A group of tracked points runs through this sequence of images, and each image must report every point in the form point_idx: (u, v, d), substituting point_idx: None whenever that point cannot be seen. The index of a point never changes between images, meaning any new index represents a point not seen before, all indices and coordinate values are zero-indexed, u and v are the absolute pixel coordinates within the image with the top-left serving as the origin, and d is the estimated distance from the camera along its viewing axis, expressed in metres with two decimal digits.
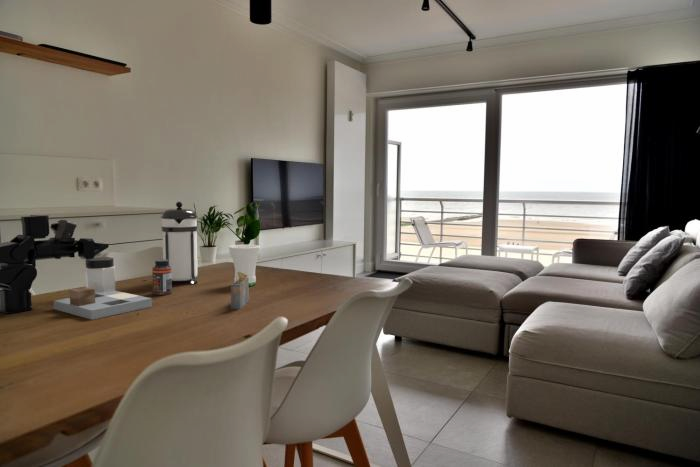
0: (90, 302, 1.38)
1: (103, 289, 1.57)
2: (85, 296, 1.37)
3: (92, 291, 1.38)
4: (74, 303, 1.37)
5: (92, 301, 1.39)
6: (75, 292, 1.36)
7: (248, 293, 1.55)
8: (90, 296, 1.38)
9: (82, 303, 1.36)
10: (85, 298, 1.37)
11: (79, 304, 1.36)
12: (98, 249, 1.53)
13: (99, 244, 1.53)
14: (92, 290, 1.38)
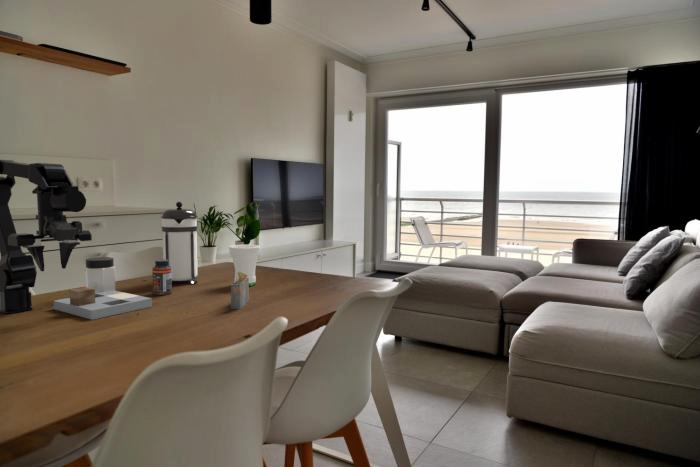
0: (90, 302, 1.38)
1: (103, 289, 1.57)
2: (85, 296, 1.37)
3: (92, 291, 1.38)
4: (74, 303, 1.37)
5: (92, 301, 1.39)
6: (75, 292, 1.36)
7: (248, 293, 1.55)
8: (90, 296, 1.38)
9: (82, 303, 1.36)
10: (85, 298, 1.37)
11: (79, 304, 1.36)
12: (34, 256, 1.28)
13: (38, 258, 1.27)
14: (92, 290, 1.38)
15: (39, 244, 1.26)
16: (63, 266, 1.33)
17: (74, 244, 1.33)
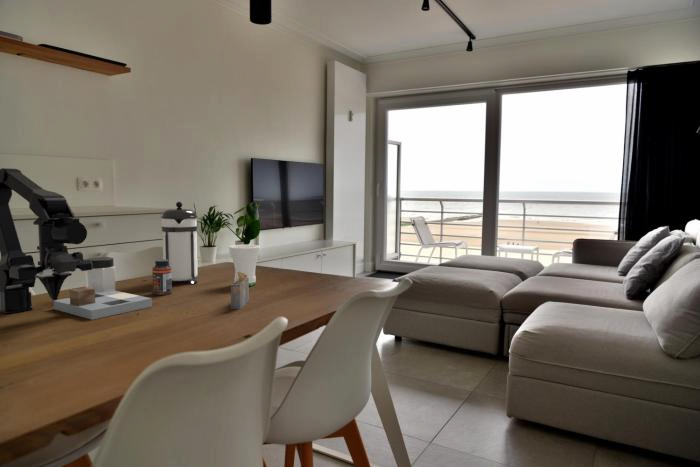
0: (90, 302, 1.38)
1: (103, 289, 1.57)
2: (85, 296, 1.37)
3: (92, 291, 1.38)
4: (74, 303, 1.37)
5: (92, 301, 1.39)
6: (75, 292, 1.36)
7: (248, 293, 1.55)
8: (90, 296, 1.38)
9: (82, 303, 1.36)
10: (85, 298, 1.37)
11: (79, 304, 1.36)
12: (46, 285, 1.31)
13: (49, 288, 1.30)
14: (92, 290, 1.38)
15: (50, 274, 1.29)
16: (54, 297, 1.32)
17: (65, 275, 1.32)
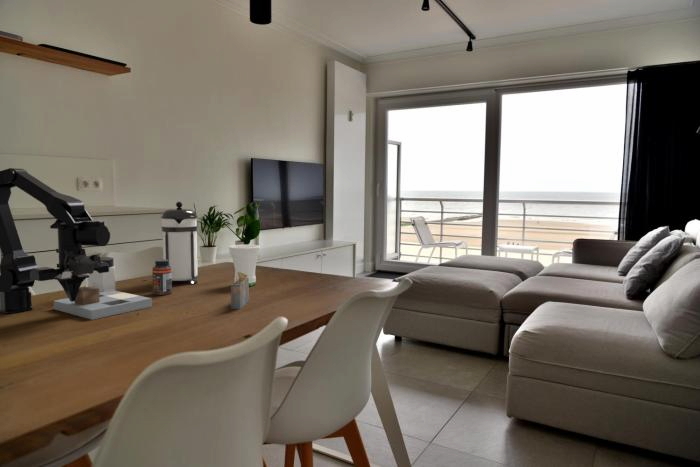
0: (94, 301, 1.39)
1: (103, 289, 1.57)
2: (90, 295, 1.38)
3: (96, 290, 1.39)
4: (78, 302, 1.38)
5: (96, 300, 1.40)
6: (79, 291, 1.37)
7: (248, 293, 1.55)
8: (94, 295, 1.39)
9: (86, 302, 1.37)
10: (90, 297, 1.38)
11: (83, 303, 1.37)
12: (65, 287, 1.35)
13: (68, 289, 1.34)
14: (96, 289, 1.39)
15: (69, 276, 1.33)
16: None
17: (83, 277, 1.36)
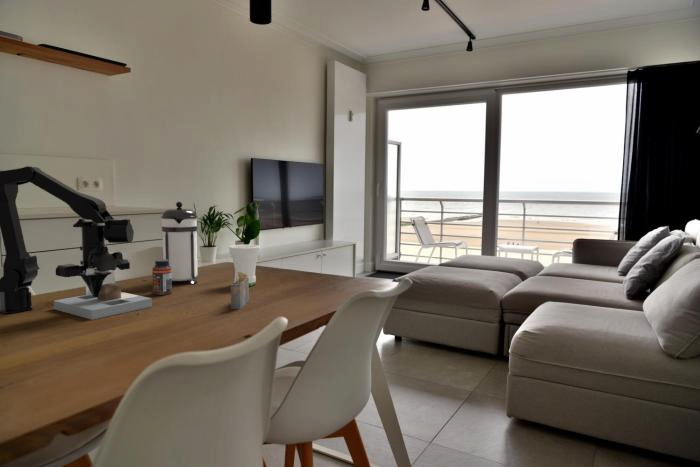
0: (116, 297, 1.44)
1: None
2: (112, 291, 1.43)
3: (118, 287, 1.45)
4: (101, 298, 1.43)
5: (118, 296, 1.45)
6: (102, 288, 1.42)
7: (248, 293, 1.55)
8: (116, 291, 1.44)
9: (109, 298, 1.43)
10: (112, 293, 1.43)
11: (106, 299, 1.42)
12: (88, 283, 1.41)
13: (91, 285, 1.40)
14: (118, 286, 1.45)
15: (93, 273, 1.38)
16: (95, 295, 1.41)
17: (106, 274, 1.41)
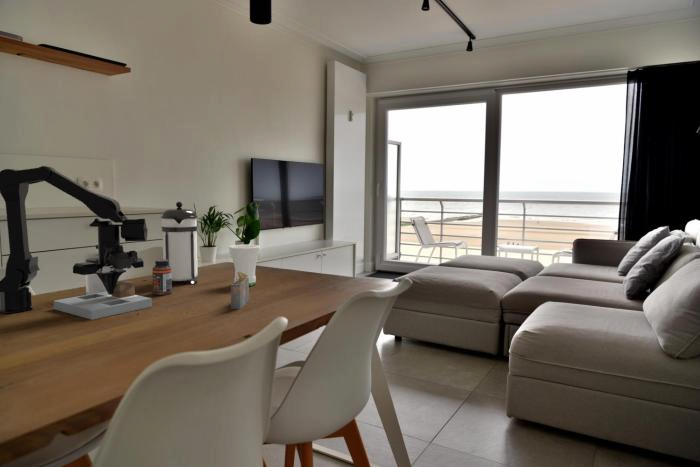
0: (130, 294, 1.48)
1: (103, 289, 1.57)
2: (126, 289, 1.47)
3: (132, 284, 1.49)
4: (116, 295, 1.47)
5: (132, 294, 1.49)
6: (117, 285, 1.46)
7: (248, 293, 1.55)
8: (130, 289, 1.48)
9: (123, 295, 1.47)
10: (126, 291, 1.47)
11: (121, 296, 1.46)
12: (103, 281, 1.44)
13: (107, 283, 1.44)
14: (132, 283, 1.49)
15: (109, 271, 1.42)
16: None
17: (121, 272, 1.45)
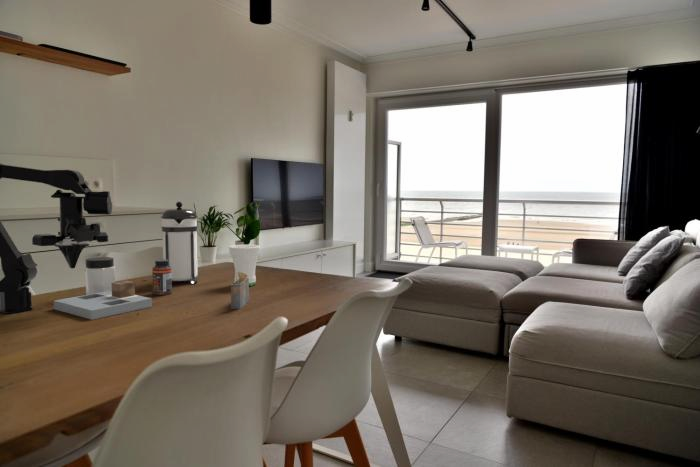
0: (130, 294, 1.48)
1: (103, 289, 1.57)
2: (126, 288, 1.47)
3: (132, 284, 1.49)
4: (116, 295, 1.47)
5: (132, 293, 1.49)
6: (117, 285, 1.46)
7: (248, 293, 1.55)
8: (130, 289, 1.48)
9: (123, 295, 1.47)
10: (126, 291, 1.47)
11: (121, 296, 1.46)
12: (65, 254, 1.41)
13: (68, 256, 1.40)
14: (132, 283, 1.49)
15: (70, 244, 1.39)
16: (72, 266, 1.42)
17: (83, 245, 1.42)
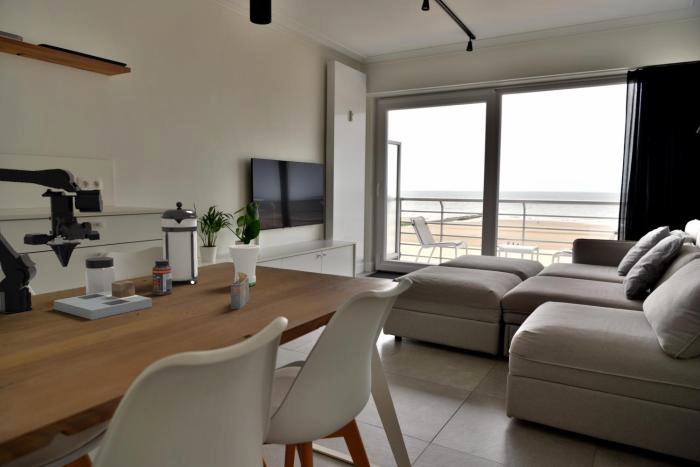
0: (130, 294, 1.48)
1: (103, 289, 1.57)
2: (126, 288, 1.47)
3: (132, 284, 1.49)
4: (116, 295, 1.47)
5: (132, 293, 1.49)
6: (117, 285, 1.46)
7: (248, 293, 1.55)
8: (130, 289, 1.48)
9: (123, 295, 1.47)
10: (126, 291, 1.47)
11: (121, 296, 1.46)
12: (57, 253, 1.42)
13: (60, 255, 1.41)
14: (132, 283, 1.49)
15: (61, 242, 1.40)
16: (65, 264, 1.43)
17: (75, 244, 1.42)
